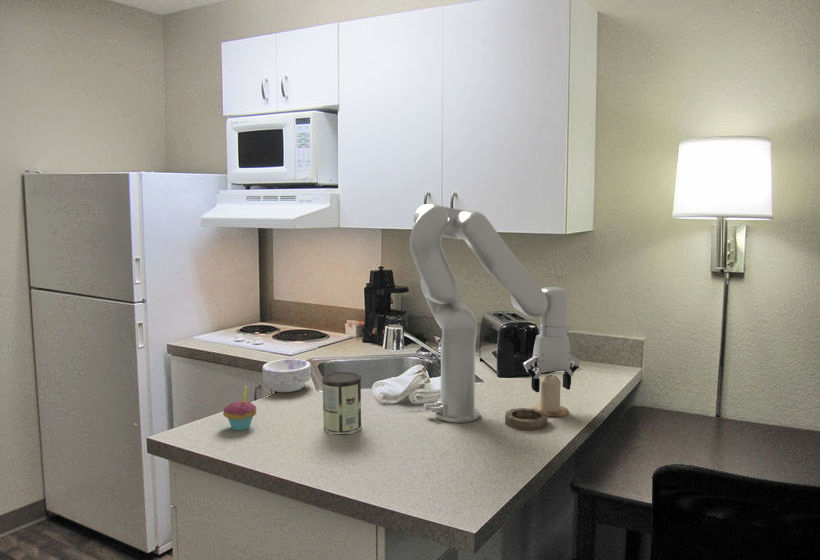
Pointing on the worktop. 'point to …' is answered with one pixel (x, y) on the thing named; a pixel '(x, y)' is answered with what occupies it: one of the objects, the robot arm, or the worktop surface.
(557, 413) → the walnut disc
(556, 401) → the candle
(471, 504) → the worktop surface
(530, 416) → the ring
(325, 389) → the coffee can
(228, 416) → the cupcake
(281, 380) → the paper bowls
